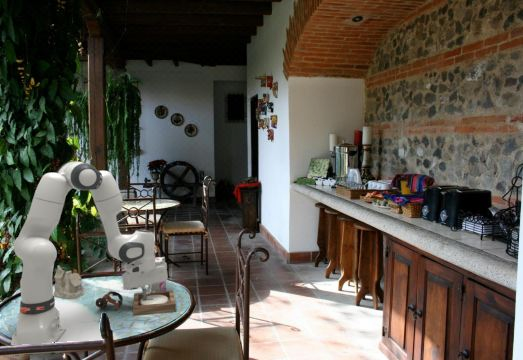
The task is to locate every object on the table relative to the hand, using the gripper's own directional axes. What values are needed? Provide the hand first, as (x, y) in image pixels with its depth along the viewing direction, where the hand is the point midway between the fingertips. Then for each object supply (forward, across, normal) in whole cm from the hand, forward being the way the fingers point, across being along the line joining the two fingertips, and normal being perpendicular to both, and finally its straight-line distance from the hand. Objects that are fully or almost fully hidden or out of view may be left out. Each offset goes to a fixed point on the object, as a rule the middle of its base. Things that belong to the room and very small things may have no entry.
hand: (146, 294), depth 207 cm
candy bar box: (+5, -10, -10) cm, 15 cm away
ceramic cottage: (+5, +23, -36) cm, 43 cm away
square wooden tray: (+5, -2, +4) cm, 7 cm away
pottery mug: (+5, +16, -6) cm, 17 cm away
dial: (+3, -2, +4) cm, 6 cm away
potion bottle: (+5, -3, -26) cm, 26 cm away
